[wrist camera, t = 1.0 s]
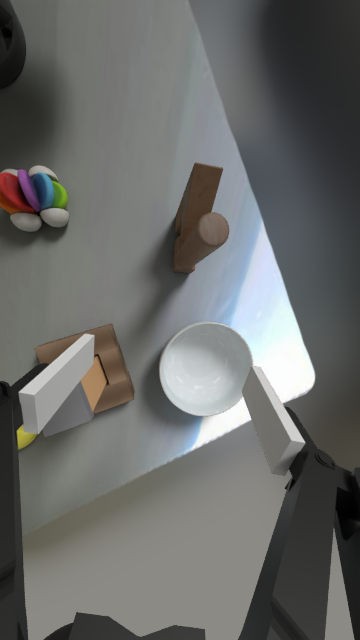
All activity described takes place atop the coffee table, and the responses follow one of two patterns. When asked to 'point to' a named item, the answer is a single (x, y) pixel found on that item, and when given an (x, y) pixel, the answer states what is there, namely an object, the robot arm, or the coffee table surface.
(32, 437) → the yellow oblong piece
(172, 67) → the coffee table surface
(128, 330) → the coffee table surface
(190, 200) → the wooden v-shaped piece
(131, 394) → the header block
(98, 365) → the plug
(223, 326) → the cereal bowl
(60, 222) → the rainbow petal toy
